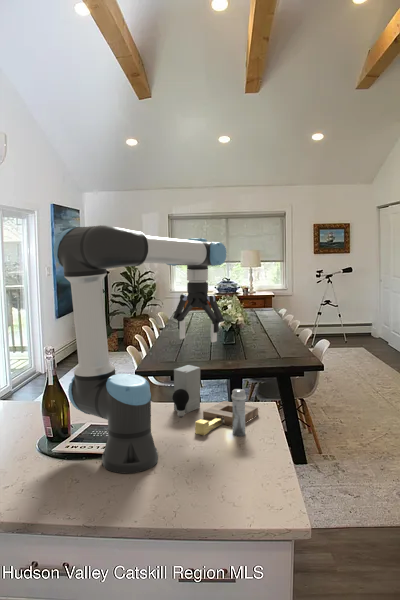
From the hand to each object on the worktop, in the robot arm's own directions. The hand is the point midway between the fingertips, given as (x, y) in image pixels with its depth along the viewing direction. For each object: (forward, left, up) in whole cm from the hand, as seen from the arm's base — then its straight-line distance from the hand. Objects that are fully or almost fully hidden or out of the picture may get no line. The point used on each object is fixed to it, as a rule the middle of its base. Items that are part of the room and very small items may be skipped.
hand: (197, 340), depth 173 cm
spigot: (-13, -24, -26) cm, 38 cm away
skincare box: (-2, +4, -26) cm, 27 cm away
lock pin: (-14, -14, -26) cm, 33 cm away
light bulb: (-10, +1, -26) cm, 28 cm away
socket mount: (-1, -14, -26) cm, 30 cm away
